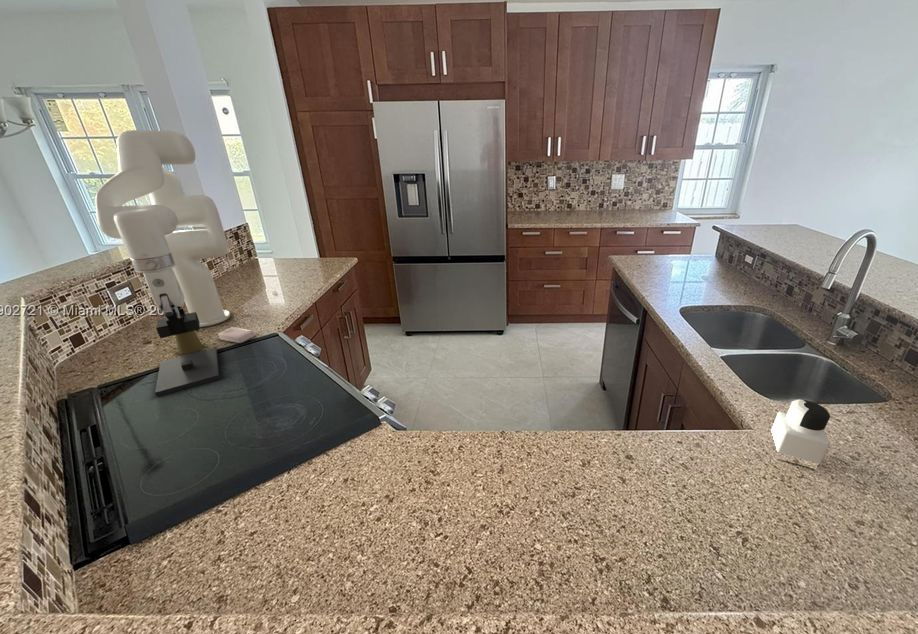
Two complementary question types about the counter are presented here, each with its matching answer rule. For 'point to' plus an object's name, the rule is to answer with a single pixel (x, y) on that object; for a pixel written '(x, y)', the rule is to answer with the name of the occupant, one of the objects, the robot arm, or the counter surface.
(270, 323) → the counter surface
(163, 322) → the top pad
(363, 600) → the counter surface
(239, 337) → the soap bar
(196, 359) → the base pad
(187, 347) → the cork
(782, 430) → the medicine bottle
